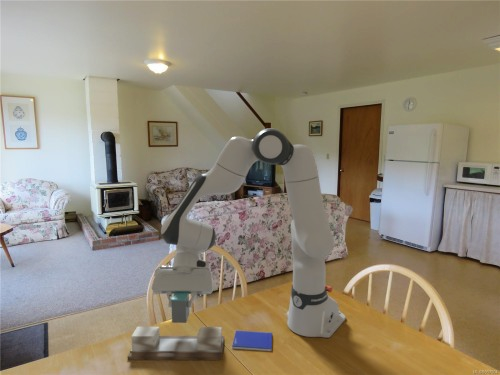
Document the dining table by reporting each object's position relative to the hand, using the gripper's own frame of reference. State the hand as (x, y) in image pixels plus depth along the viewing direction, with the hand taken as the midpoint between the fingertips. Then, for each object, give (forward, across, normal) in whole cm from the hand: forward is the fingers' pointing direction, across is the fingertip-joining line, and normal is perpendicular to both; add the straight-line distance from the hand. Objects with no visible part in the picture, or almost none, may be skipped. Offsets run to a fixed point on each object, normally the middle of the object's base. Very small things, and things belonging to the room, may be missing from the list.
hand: (180, 306), depth 102 cm
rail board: (+11, 0, +5) cm, 12 cm away
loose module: (+3, 0, +4) cm, 4 cm away
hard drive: (+9, +24, +8) cm, 27 cm away
